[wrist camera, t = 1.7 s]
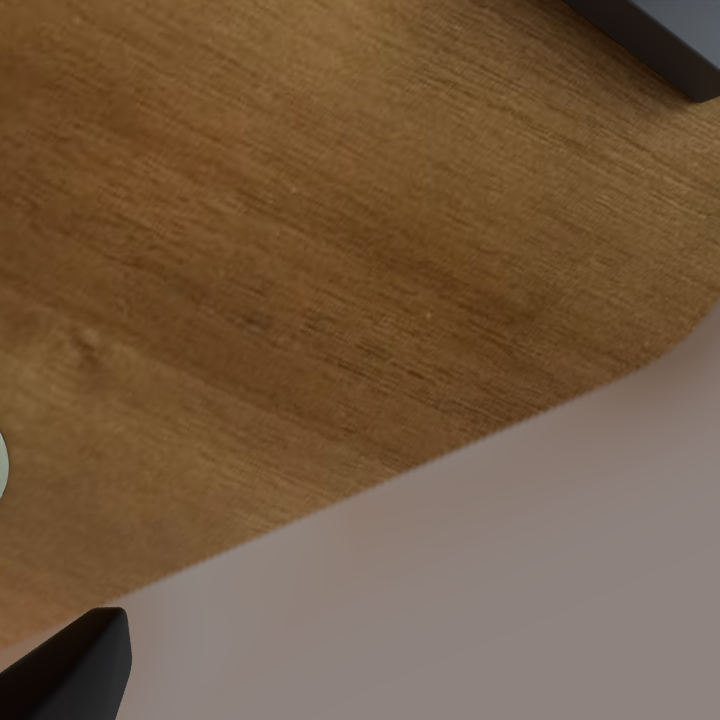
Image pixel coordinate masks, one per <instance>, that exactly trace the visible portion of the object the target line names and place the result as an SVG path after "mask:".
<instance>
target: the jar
mask: <svg viewBox="0 0 720 720" xmlns="http://www.w3.org/2000/svg"><path fill="white" fill-rule="evenodd" d="M8 471H9V462H8V454H7V449H6V445H5V442H4V440H3V437H2V435H1V433H0V498H1V496H2V494H3V492H4V489H5V487H6V483H7V479H8Z"/></svg>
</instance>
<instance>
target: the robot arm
mask: <svg viewBox="0 0 720 720" xmlns="http://www.w3.org/2000/svg"><path fill="white" fill-rule="evenodd" d="M131 664H132V652H131V644H130V636H129V627H128V619H127V614H126V612H125V610H124V609H122V608H120V607H100V608H94V609H91V610H90V611H88V612H86V613H85V614H84V615H82V616H81V617H79V618H78V619H77V620H75V621H74V622H72V623H71V624H69V625H68V626H67V627H65V628H64V629H62V630H61V631H59V632H58V633H57V634H55V635H54V636H52V637H51V638H49V639H48V640H47V641H45V642H44V643H42V644H41V645H39V646H38V647H37V648H35V649H34V650H32V651H31V652H30V653H28V654H27V655H25V656H24V657H22V658H21V659H20V660H18V661H17V662H15V663H14V664H12V665H11V666H10V667H8V668H7V669H5V670H4V671H3V672H1V673H0V720H115V718H116V715H117V712H118V709H119V706H120V703H121V700H122V697H123V694H124V691H125V688H126V684H127V681H128V678H129V674H130V670H131Z"/></svg>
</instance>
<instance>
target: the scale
mask: <svg viewBox="0 0 720 720" xmlns="http://www.w3.org/2000/svg"><path fill="white" fill-rule="evenodd" d="M563 1H564V2H566V3H567V4H568V5H570V6H571V7H572V8H574V9H575V10H576V11H578V12H579V13H580V14H582V15H583V16H584V17H585V18H587V19H588V20H589V21H591V22H592V23H593V24H595V25H596V26H597V27H599V28H600V29H601V30H603V31H604V32H605V33H606V34H608V35H609V36H610V37H612V38H613V39H614V40H616V41H617V42H618V43H620V44H621V45H622V46H624V47H625V48H626V49H628V50H629V51H630V52H631V53H633V54H634V55H635V56H637V57H638V58H639V59H641V60H642V61H643V62H645V63H646V64H647V65H649V66H650V67H651V68H652V69H654V70H655V71H656V72H658V73H659V74H660V75H662V76H663V77H664V78H666V79H667V80H668V81H670V82H671V83H672V84H673V85H675V86H676V87H677V88H679V89H680V90H681V91H683V92H684V93H685V94H687V95H688V96H689V97H691V98H692V99H693V100H695V101H696V102H697V103H703V102H705V101H708V100H711V99H714V98H716V97H719V96H720V0H563Z"/></svg>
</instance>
